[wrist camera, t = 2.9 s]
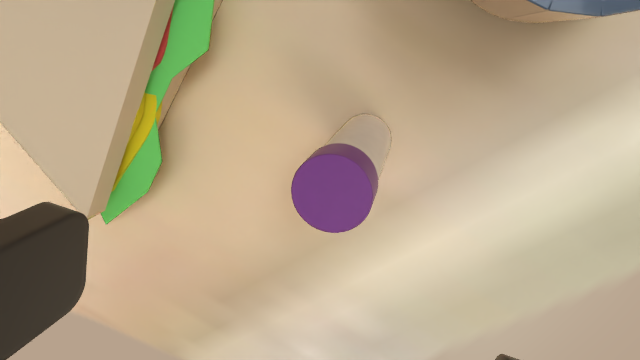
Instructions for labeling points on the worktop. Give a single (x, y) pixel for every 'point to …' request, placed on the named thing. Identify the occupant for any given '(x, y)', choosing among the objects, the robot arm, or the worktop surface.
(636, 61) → the worktop surface
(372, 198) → the glue stick
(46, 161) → the sandwich
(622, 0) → the mug
